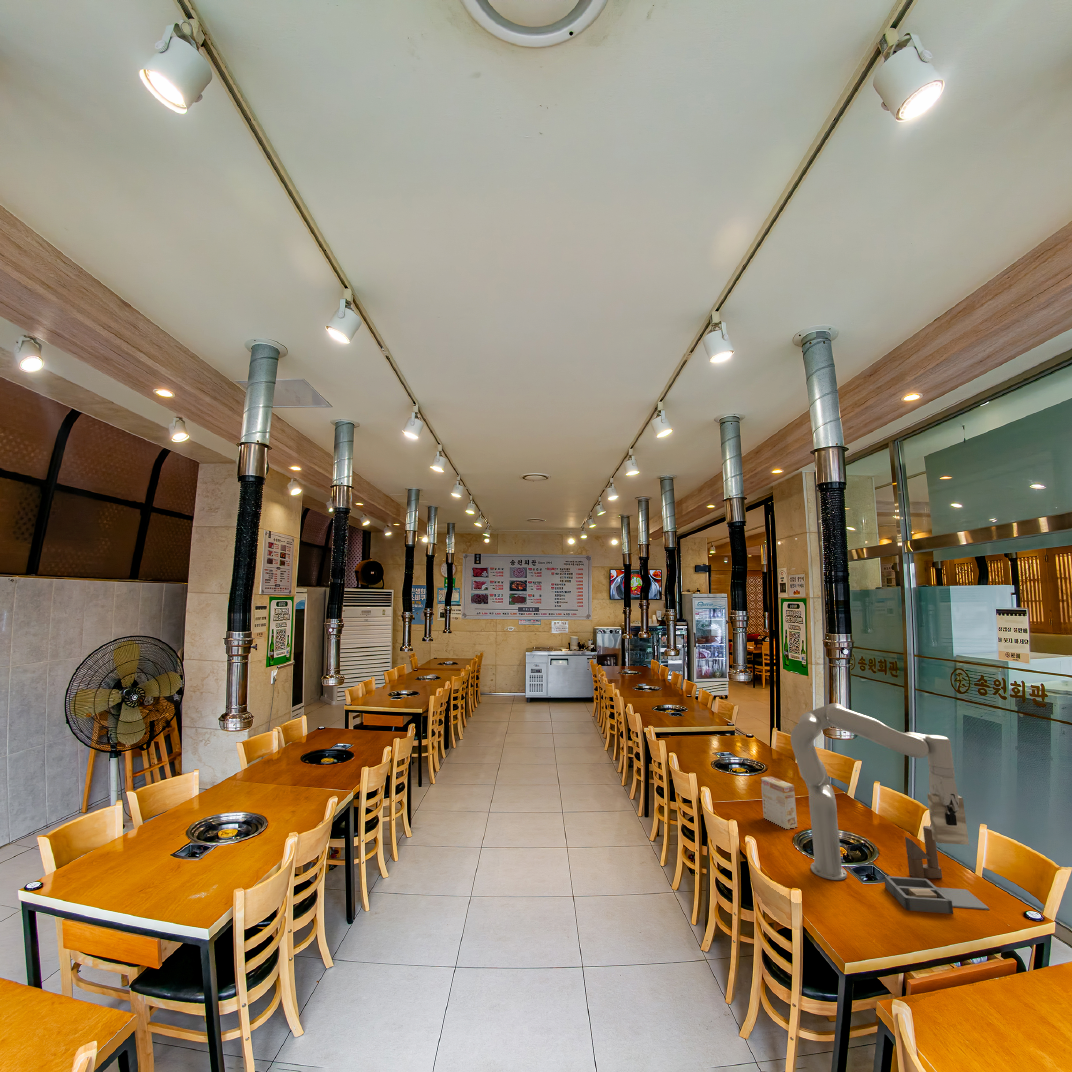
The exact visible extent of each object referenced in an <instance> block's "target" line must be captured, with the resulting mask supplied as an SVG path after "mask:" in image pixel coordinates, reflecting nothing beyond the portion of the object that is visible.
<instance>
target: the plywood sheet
mask: <svg viewBox="0 0 1072 1072" xmlns="http://www.w3.org/2000/svg"><path fill="white" fill-rule="evenodd" d="M926 796H927V803H928V804H927V805H928V812H929V819H930V827H931V830H932V838H933V840H935V841H936V844H937V843H938V844H945V845H946V844H948V845H950V844H951V845H965V846H967V845H970V843H969V834H968V826H967V819H966V812H965V806H964V805H965V804H964V798H963V797H962V796H960V795H958V799H959V805H958V808H959V810H958V811H957V812H956V821H957V825H956V826H954V825H947V824H946V817H945V813H946V809H945V805H942V804H941V803H940V800H939V797H938V796H937V795H935V794H930V793H926ZM950 804H951V803H950ZM949 808H952V807H949Z"/></svg>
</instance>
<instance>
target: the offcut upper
mask: <svg viewBox="0 0 1072 1072" xmlns="http://www.w3.org/2000/svg"><path fill="white" fill-rule="evenodd" d="M909 896H912V897H926V898H937V895H936V894H935V893H933V892H932V891H931V890H930V889H909Z"/></svg>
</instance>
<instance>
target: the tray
mask: <svg viewBox="0 0 1072 1072" xmlns="http://www.w3.org/2000/svg"><path fill="white" fill-rule="evenodd" d="M883 878H884V879H883V880H884V887H885V889H886V890H887V891H888V892H889V893H890V894H891V895H892V897H894V898H895V899H896V900H897V902H898V903H899V904H900V905H901V906H902V907H903V908H904V909H905V910H906V911H910V912H911V911H914V912H926V913H935V914H936V913H937V914H949V915H950V914H951V915H953V914H954V907H952V901H951V900H950V899H949V898H948V897H947V896H946V895H944V894H943V893H942V892H941V891H940V890H939V889H938V888H939V887H938V888H937V886H936V885H934V884H933V883H932V882H931V881H930V880H929V878H924V879H923V878H914V877H905V876H904V877H903V876H892V875H884V876H883ZM909 889H930V890H931V891H932V892H933V893H935V894H936V895H937V898H926V897H912V896H909Z"/></svg>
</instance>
